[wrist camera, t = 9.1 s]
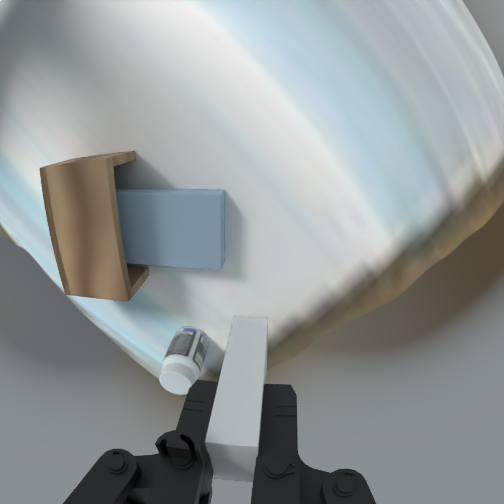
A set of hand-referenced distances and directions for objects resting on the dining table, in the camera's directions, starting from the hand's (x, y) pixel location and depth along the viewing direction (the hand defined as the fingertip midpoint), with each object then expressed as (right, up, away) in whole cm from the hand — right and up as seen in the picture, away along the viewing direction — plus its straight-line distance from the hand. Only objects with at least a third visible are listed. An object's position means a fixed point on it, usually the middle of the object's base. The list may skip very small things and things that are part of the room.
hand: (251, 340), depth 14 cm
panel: (-10, +7, +20) cm, 24 cm away
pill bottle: (-8, -8, +26) cm, 29 cm away
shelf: (-17, +8, +20) cm, 28 cm away
